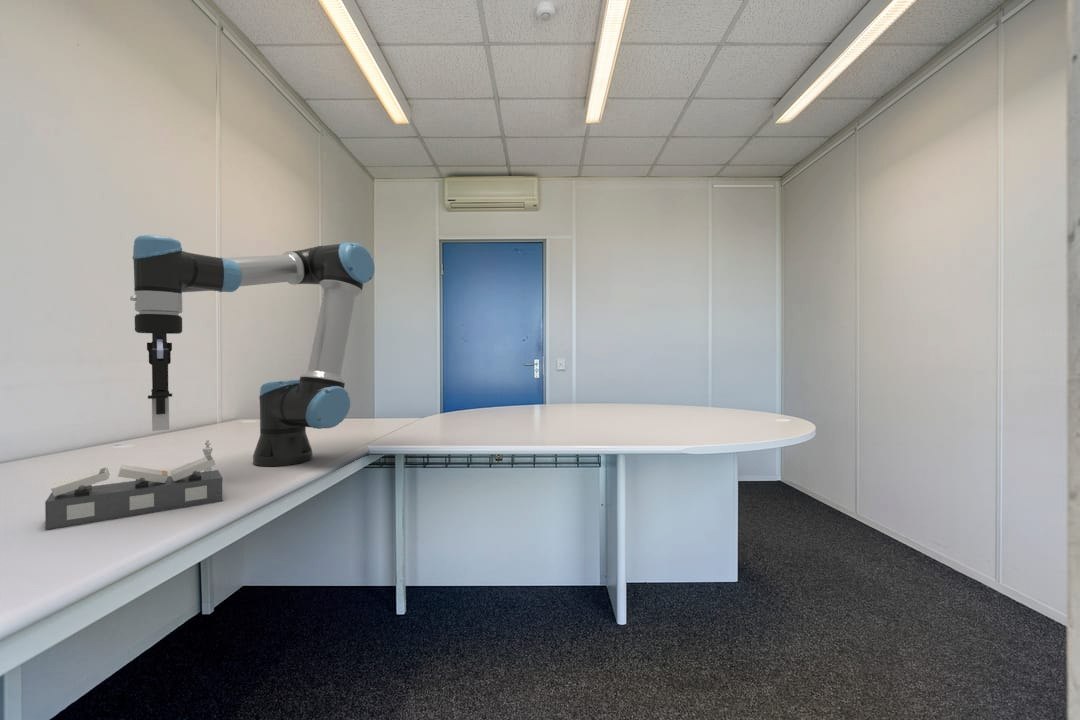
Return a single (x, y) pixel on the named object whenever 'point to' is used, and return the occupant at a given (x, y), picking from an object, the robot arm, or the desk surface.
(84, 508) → the rocker switch box
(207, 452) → the chess piece
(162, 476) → the rocker
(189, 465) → the rocker
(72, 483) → the rocker
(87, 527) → the desk surface
